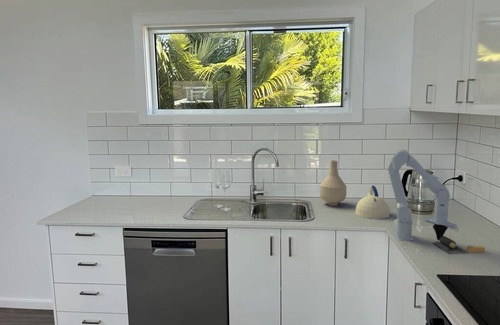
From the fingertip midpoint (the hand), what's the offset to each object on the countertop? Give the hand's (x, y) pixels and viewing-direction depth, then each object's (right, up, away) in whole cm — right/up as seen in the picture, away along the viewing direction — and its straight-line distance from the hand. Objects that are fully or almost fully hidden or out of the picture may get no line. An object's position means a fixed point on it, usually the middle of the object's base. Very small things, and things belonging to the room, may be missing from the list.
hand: (439, 239), depth 183 cm
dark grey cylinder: (0, -2, -6) cm, 7 cm away
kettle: (-16, +5, +51) cm, 53 cm away
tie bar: (+10, -3, -12) cm, 16 cm away
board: (+1, -3, -11) cm, 12 cm away
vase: (-35, +9, +75) cm, 83 cm away
